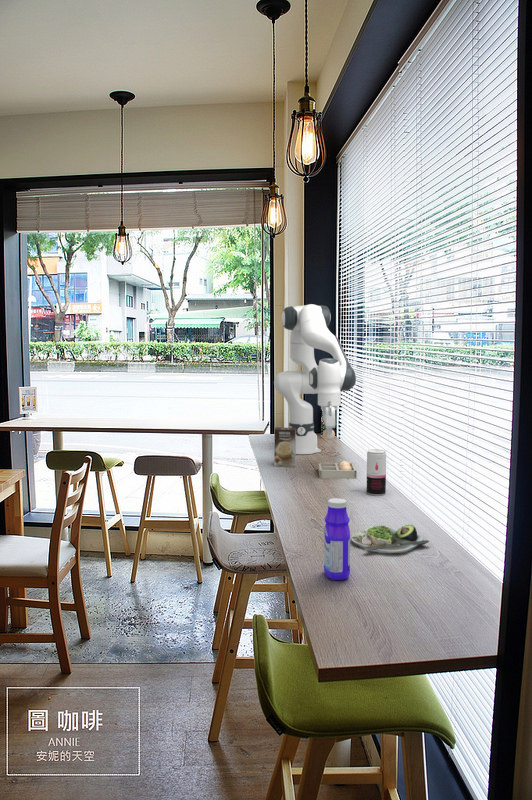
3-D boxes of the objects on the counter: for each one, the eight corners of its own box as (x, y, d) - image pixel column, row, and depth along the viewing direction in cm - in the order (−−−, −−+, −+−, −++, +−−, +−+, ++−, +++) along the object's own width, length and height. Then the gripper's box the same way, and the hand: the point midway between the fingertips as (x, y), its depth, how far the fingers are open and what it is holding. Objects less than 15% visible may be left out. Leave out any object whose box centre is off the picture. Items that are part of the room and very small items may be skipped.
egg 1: (334, 439, 223) (334, 427, 222) (335, 441, 218) (335, 429, 218) (322, 439, 223) (322, 427, 222) (323, 441, 218) (323, 429, 218)
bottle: (321, 569, 133) (321, 496, 131) (345, 568, 133) (346, 495, 131) (327, 582, 125) (327, 505, 124) (352, 581, 126) (353, 504, 124)
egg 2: (338, 470, 231) (338, 459, 230) (349, 471, 230) (350, 459, 230) (339, 473, 226) (339, 462, 225) (350, 473, 226) (351, 462, 225)
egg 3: (339, 474, 224) (339, 463, 224) (351, 474, 224) (351, 463, 223) (340, 477, 219) (340, 465, 219) (352, 477, 219) (352, 465, 219)
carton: (318, 471, 232) (318, 462, 232) (353, 471, 232) (353, 463, 231) (319, 479, 219) (319, 470, 218) (356, 480, 218) (356, 470, 217)
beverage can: (387, 492, 200) (388, 450, 199) (383, 496, 194) (383, 453, 193) (369, 490, 203) (369, 448, 201) (364, 494, 197) (364, 451, 195)
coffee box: (273, 466, 242) (273, 429, 240) (274, 463, 248) (274, 427, 246) (295, 467, 241) (295, 429, 239) (296, 464, 247) (296, 427, 245)
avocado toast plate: (392, 565, 136) (392, 546, 135) (334, 546, 149) (335, 529, 148) (435, 545, 149) (436, 528, 148) (379, 529, 162) (379, 513, 161)
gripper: (339, 403, 208) (339, 440, 210) (335, 398, 229) (335, 432, 230) (322, 403, 209) (321, 440, 210) (320, 398, 229) (320, 432, 231)
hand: (329, 436), depth 220 cm, fingers closed on egg 1, 5 cm apart
